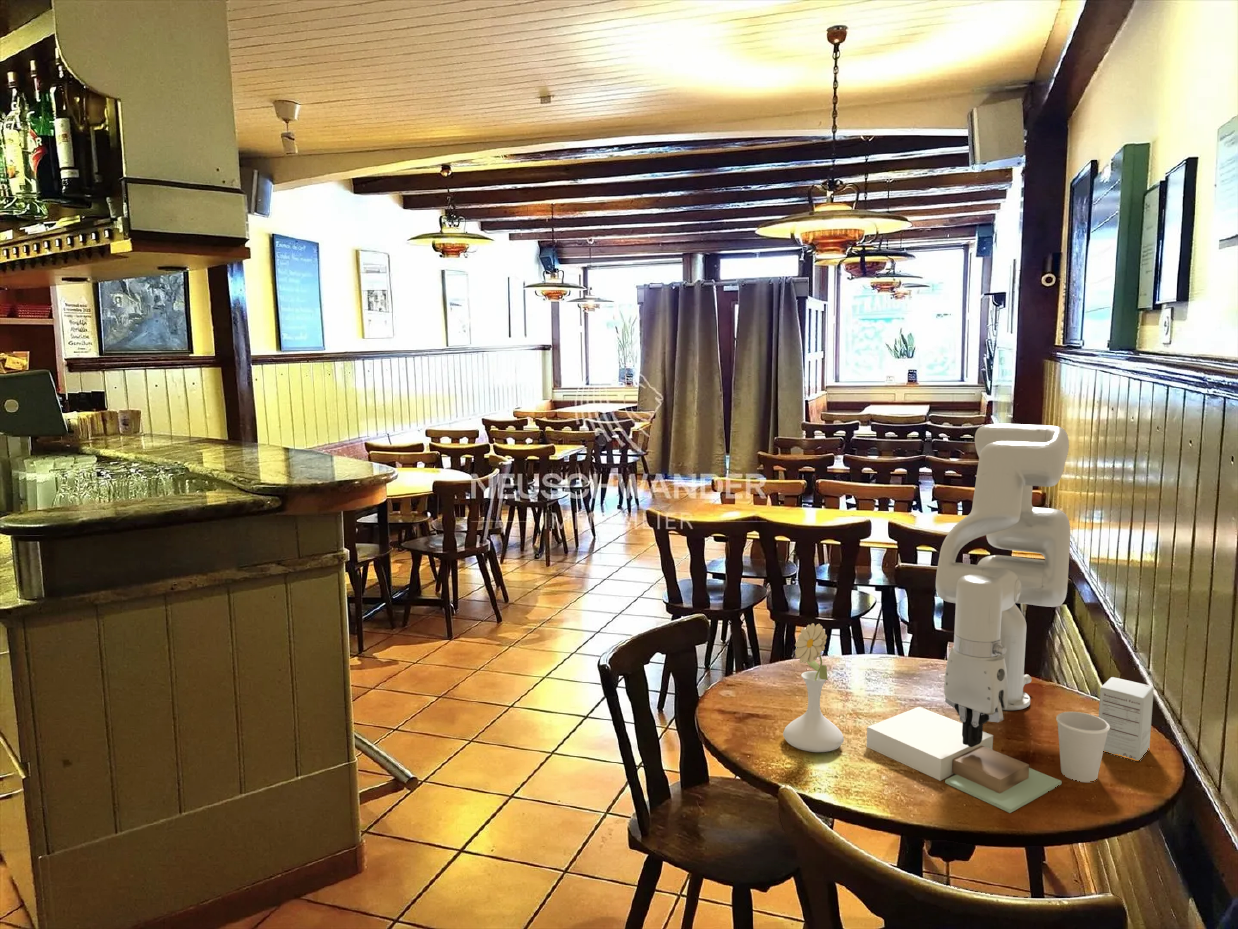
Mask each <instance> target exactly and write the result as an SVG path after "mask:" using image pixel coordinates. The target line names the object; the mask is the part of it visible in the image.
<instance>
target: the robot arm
mask: <svg viewBox="0 0 1238 929" xmlns="http://www.w3.org/2000/svg"><path fill="white" fill-rule="evenodd" d="M974 445H975V450H976V453H977V456H978V464H977V471H976V478H975V484H974V485H975V486H974V493H973V499H972V507H971V511H970V513H969V514H968V515H966V516H965V517H963V518H962V519H961V520H960V521H959V522H957V523H956V525H954V526H953V528H952V529H951V530H950V531H949V532H948V534H947V535H946V536H945V538H944V540H943V542H942V543H941V544H942V545H941V547H940V552H939V557H938V563H937V568H936V574H935V576H936V577H935V590H936V593H937V595H938V596H939V598H940V599H941V600H943V601H945V602H947V603H953V604H955V611H954V612H955V615H954V634H953V646H952V647H951V648H950V650H949V653H948V658H947V662H946V667H945V674H944V684H943V689H944V691H943V692H944V696H945V699H944V702H945V703H946V704H948V706H950V707H952V708H954V709H955V711H956V712H957V714H958V715H959V720H960V721H959V722H960V723H963V726H962V736H963V744H965V745H968V746H969V747H973V746H976V745H978V744H980V743H981V741H982V735H983V732H984V724H986V723H987V722H991V723H993V722H994V723H1000V722H1002V721H1004V715H1003V714H1004V713H1003V711H1019V710H1023V709H1027V707H1029V706H1030V705H1031V697H1030V695H1029V694H1028V693H1027V692H1025V691H1024V687H1025V685H1028V684H1030V683H1031V682H1032V676H1030V675H1029V674H1027V673H1026V674H1025V658H1026V644H1027V643H1026V641H1027V622H1026V618H1025V616H1024V614H1023V613H1022V611H1021V609H1020V608H1019V607H1018V606H1017V605H1016V604H1025V605H1031V606H1032V605H1033V606H1039V607H1046V608H1047V607H1051V608H1056V607H1060V606H1061V605H1062V604H1063V603H1064V602H1065V600H1066V598H1067V595H1068V594H1067V593H1068V583H1069V566H1070V565H1069V564H1070V552H1071V550H1070V548H1071V524H1070V519H1069V517H1068V515H1067V514H1066V513H1065V512H1063V511H1062V510H1060V509H1056V508H1049V507H1037V506H1033V504H1032V500H1033V487H1046V488H1051V487H1054V486H1056V485H1058V483H1059V482H1060V480H1061V479H1062V475H1063V472H1064V470H1065V465H1066V462H1067V458H1068V455H1069V448H1070V440H1069V436H1068V434H1067V432H1066V430H1065V429H1064V428H1063V427H1061V426H1057V425H1051V424H1050V425H1046V424H1023V423H1022V424H1021V423H991V424H986V425H982V426H980V427H978V428H977V429H976V431H975V434H974ZM984 536H986V540H987V542H988V544H989V545H990V546H992V547H993V548H996V549H1001V550H1008V551H1016V552H1025V553H1026V552H1027V553H1034V554H1040V555H1042V556H1043V557H1044V559H1036V558H1027V557H1023V556H1022V557H1021V556H1020V557H1019V556H1012V555H1011V556H1010V555H1000V554H994V555H987V556H985V557H982V558H981V559H980V560H979V561H978V562H977V564H971V563H965V562H964V563H963V562H956V561H957V557H958V554H959V552H960V550H961V549H962V548H963V547H965V545H967V544H968V543H969V542H972V541H974V540H976V539H978V538H981V537H984Z"/></svg>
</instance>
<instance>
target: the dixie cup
mask: <svg viewBox="0 0 1238 929" xmlns="http://www.w3.org/2000/svg"><path fill="white" fill-rule="evenodd" d="M1055 719H1056V722H1057V732H1058V744H1059V745H1058V746H1059V747H1058V748H1059V759H1060V761H1059V762H1060V771H1061V773H1062V775H1063V776H1064V775H1065V776H1064V777H1066V778H1068V779H1069V780H1072V779H1073V780H1072V781H1075V780H1077V781H1076V782H1079V781H1080V783H1091V782H1090V781H1094V780H1096V779H1097V780H1098V778H1099V777H1098V776H1099V773H1100V772H1099V771H1100V769H1101V768H1100V767H1101V764H1102V758H1103V755H1104V752H1103V751H1104V746H1105V742H1106V737H1107V733H1108V731H1109V729H1110V726H1109V724H1108V723H1107V722H1106V721H1105V720H1103V719H1101V718H1099V716H1097V715H1094V714H1090V713H1086V712H1082V711H1081V712H1080V711H1064V712H1061V713H1058V714H1057V715H1056V717H1055ZM1097 780H1096V781H1097ZM1094 782H1095V781H1094Z"/></svg>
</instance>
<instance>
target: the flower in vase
mask: <svg viewBox="0 0 1238 929" xmlns="http://www.w3.org/2000/svg"><path fill="white" fill-rule="evenodd" d="M827 638H828V636H827V634H826V630H825V629H824V628H823V626H822V625H821V624H820V623H818V624H816V625H815V623H811V624H808V625H806V628H802V629H801V630H800V634H799V635H798V637H797V641H796V642H795V644H794V646H795V647H796V649H795V652H794V655H795V658H796V659H799V663H800V664H802V663H803V664H807V665H808V666H809V667H811V668H812V669H813V670H809V671H804V672H802V673H801V675H800V676H801V678H802V679H803V681H804V684H805V686H806V689H807V699H808V700H807V709H806V711H805V712H804V713H803V714H802V715H800V716H798V717H797V718H795V719H793V720H792V721H791V722H789V723H788V724H787V725H786V726H785V728H784V730H783V732H782V736H783V738H784V740H785V741H786V743H787V744H788V745H790V746H792V747H794V748H796V749H798V750H802V751H805V752H811V753H825V752H826V753H827V752H832V751H835V750H837V749H839V748H840V747H841V746H842V744H843V743H844V740H845V738H844V734H843V732H842V730H840V728H839V727H838V726H837V725H836V724H834V723H833V722H832V721H831V720H830V719H828V718H827V717H825V716H824V714H823V713H822V711H821V696H822V691H823V690H822V689H823V686H824V685H825V683H826V682H827V681H828V680H829V676H828V668H827V667H828V666H827V665H826V664H825V665H824V664H823V659H822V655H821V653H822V652H823V651H825V648H826V647H825V645H826V643H827ZM817 658H819V661H820V664H819V663H818V662H817V661H816V660H817Z"/></svg>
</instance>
